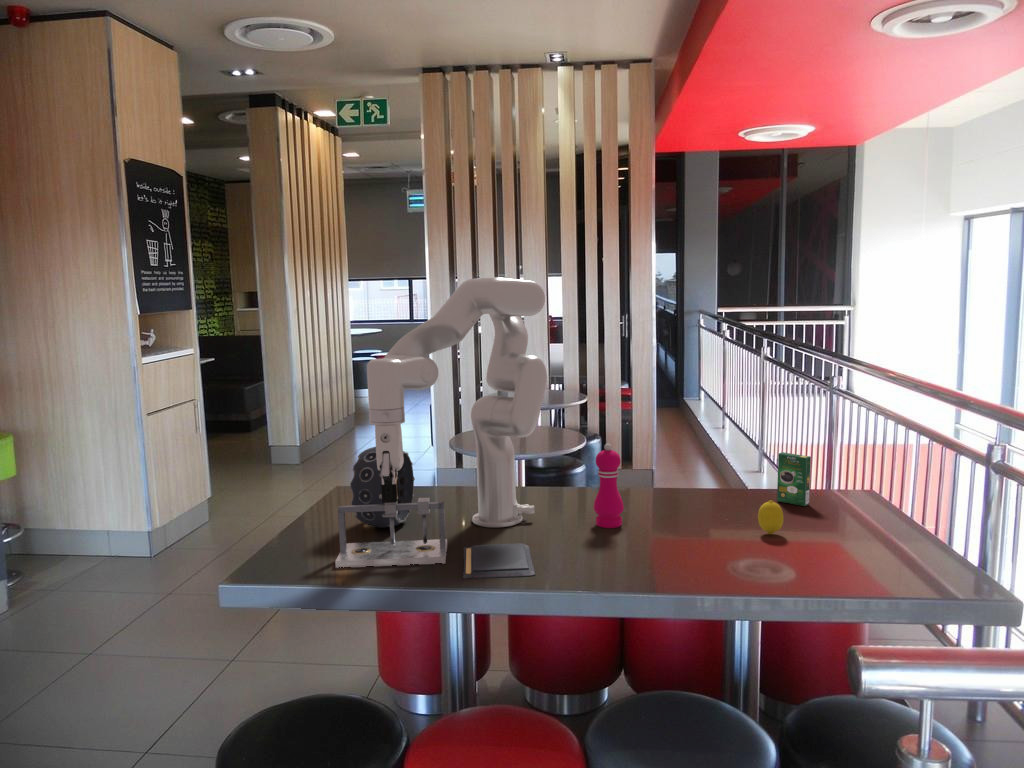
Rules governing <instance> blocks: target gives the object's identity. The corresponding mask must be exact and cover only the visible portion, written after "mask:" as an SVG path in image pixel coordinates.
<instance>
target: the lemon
mask: <svg viewBox="0 0 1024 768" xmlns="http://www.w3.org/2000/svg"><path fill="white" fill-rule="evenodd" d="M757 520H758V524H759V527H760V528H761V529H762V530H763V531H764V532H767V534H768V535H773V534H774V533H776V532H778V531H780V530H781V528H782V527H783V525H784V520H785V519H784V512H783V509H782V507H781V506H780V504H778V503H777V502H775V501H773V500H772V499H771V500H770V499H769V500H768V501H766V502H764V503H763V504H762V505H760V507H759V509H758V513H757Z"/></svg>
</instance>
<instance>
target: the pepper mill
mask: <svg viewBox="0 0 1024 768" xmlns="http://www.w3.org/2000/svg"><path fill="white" fill-rule="evenodd" d="M603 448H604V449H603V450H601V451H599V452H597V455H596V458H595V465H596V466H597V468H598V470H597V476H598V477H599V490H598V493H597V494H596V497H595V499H594V502H593V510H594V512H595V514H596V515H597V516H596V517H595V524H596V526H598V527H599V528H604V529H615V528H619V527H621V526H622V524H623V518H622V516H620V515H622V513H623V512H624V509H625V507H624V502H623V499H622V496H621V494H620V492H619V490H618V482H617V479H618V477H619V470H618V468H619V467H620V466H621V463H622V461H621V456H620V454H619V453H618V452H617V451H615V450H614V449H613V450H612V448H613V447H612V445H611V444H610V443H605V444H604V447H603Z"/></svg>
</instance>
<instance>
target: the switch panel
mask: <svg viewBox="0 0 1024 768" xmlns="http://www.w3.org/2000/svg"><path fill="white" fill-rule="evenodd" d="M430 499H431V498H430V497H418V499H417V502H412V503H401V504H396V511H397V510H411V511H413V510H414V511H415V510H416V511H417V515H421V518H422V519H421V522H422V523H421V524H422V539H420V540H419V539H418V540H417V539H416V540H395V544H394V545H391V540H390V541H371V542H366V541H365V542H348V543H347V530H346V529H347V528H346V514H347V513H356V512H372V511H385V504H376V505H338V506H337V513H338V514H337V515H338V516H337V517H338V533H339V537H338V538H339V553H338V555H337V557H336V559H335V561H334V562H335V569H343V568H344V567H351V568H367V567H366V566H374V567H392V565H397V566H411V565H410V564H413V565H412V566H415V565H414V564H419V565H436V564H435V563H442V564H446V560H447V553H448V552H447V551H448V538H446V517H445V516H446V515H445V502H444V501H431V502H430ZM431 510H438V527H439V529H438V531H439V533H438V534H439V538H438V539H428V528H427V527H428V526H427V523H428V521H427V515H430V511H431ZM446 552H447V553H446ZM339 567H340V568H339ZM341 567H343V568H341ZM344 569H345V568H344Z"/></svg>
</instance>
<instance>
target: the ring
mask: <svg viewBox="0 0 1024 768" xmlns="http://www.w3.org/2000/svg"><path fill="white" fill-rule="evenodd" d="M403 458H404V462H403V465H402V467H401V469H400V470H397V472H398V479H399V497H398V499H397V504H401V503H413V501H414V500H413V499H414V497H415V494H414V489H415V479H416V478H415V476H414V468H413V464H414V462H413V461H412V460H411V458H410V456H409V452H407V451H405V450H403ZM352 472H353V476H352V479H351V481H350V484H349V487H350V490H351V493H352V497H351V500H350V504H351V505H376V504H385V503H383V502H382V490H381V484H382V473H381V471H379V470H378V468H377V458H376V446H373V447H372V446H371V447H370V448H367V449H365V450H363V451H362V452H360V453H359V454H358V455H357V461H356V462H355V463H354V465H353V466H352ZM351 505H350V506H351ZM411 512H412V510H398V514H397V517H394V527H396V526H399V525H400V524H402V523H405V522H406V521H407V518H408V516H409V514H410V513H411ZM354 516H355V518H356V519H357V520H358V521H360V522H361V523H363V524H364V525H366V526H368V527H369V526H370V527H374V528H384V529H385V528H390V517H385V511H372V512H354Z"/></svg>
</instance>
